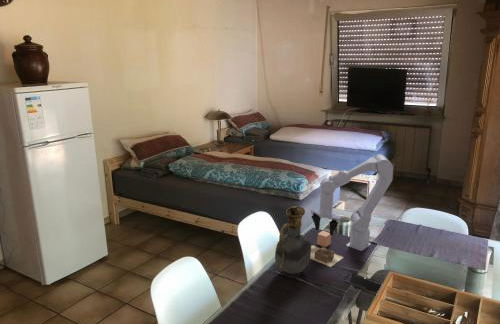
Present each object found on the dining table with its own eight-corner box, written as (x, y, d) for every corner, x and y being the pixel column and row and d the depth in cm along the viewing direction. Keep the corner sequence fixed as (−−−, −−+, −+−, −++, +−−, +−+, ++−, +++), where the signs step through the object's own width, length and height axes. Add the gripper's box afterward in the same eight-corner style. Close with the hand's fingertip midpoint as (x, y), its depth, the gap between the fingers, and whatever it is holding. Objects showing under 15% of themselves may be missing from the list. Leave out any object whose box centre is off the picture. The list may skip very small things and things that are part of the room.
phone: (350, 272, 164) (386, 284, 156) (349, 274, 165) (386, 287, 156) (342, 281, 158) (380, 294, 150) (342, 283, 159) (379, 297, 150)
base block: (321, 253, 180) (322, 247, 179) (333, 257, 176) (334, 251, 175) (314, 258, 175) (314, 252, 175) (326, 263, 171) (326, 256, 171)
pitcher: (312, 268, 168) (316, 201, 160) (291, 290, 153) (294, 217, 145) (289, 261, 174) (292, 195, 166) (266, 281, 159) (268, 210, 150)
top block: (322, 242, 191) (322, 230, 190) (330, 245, 188) (331, 233, 187) (317, 245, 188) (317, 233, 186) (325, 248, 185) (326, 236, 183)
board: (312, 246, 187) (313, 245, 187) (343, 258, 177) (343, 257, 176) (299, 255, 179) (299, 254, 179) (330, 268, 169) (330, 266, 168)
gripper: (308, 202, 184) (306, 229, 188) (335, 211, 175) (333, 239, 179) (316, 198, 189) (314, 225, 193) (344, 206, 180) (341, 234, 184)
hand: (324, 232), depth 186 cm, fingers open, 7 cm apart
